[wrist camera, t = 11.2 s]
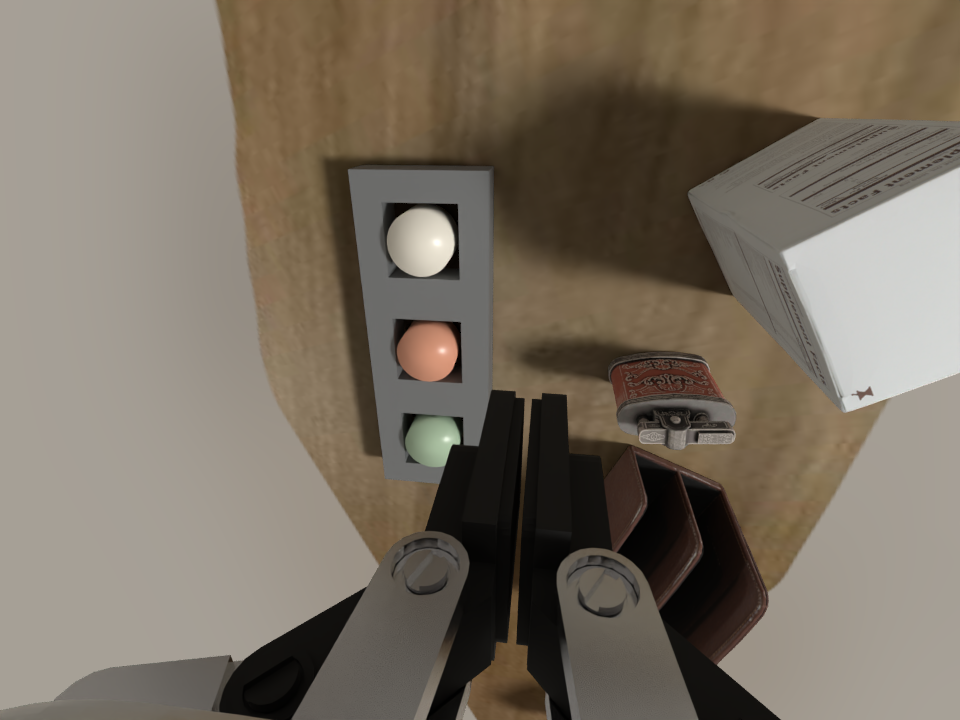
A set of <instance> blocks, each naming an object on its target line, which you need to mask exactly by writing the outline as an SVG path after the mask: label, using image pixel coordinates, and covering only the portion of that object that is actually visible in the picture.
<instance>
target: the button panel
mask: <svg viewBox="0 0 960 720" xmlns="http://www.w3.org/2000/svg"><path fill="white" fill-rule="evenodd" d="M348 175H349V183H350V192H351V200H352V208H353V216H354V225H355V233H356V241H357V250H358V258H359V266H360V275H361V283H362V291H363V299H364V308H365V316H366V324H367V333H368V341H369V349H370V358H371V366H372V374H373V382H374V391H375V399H376V407H377V416H378V424H379V432H380V440H381V449H382V457H383V465H384V474H385V479H393V480H404V481H415V482H426V483H437V484H440V481H441V477H442V474H443V471H444V468H445V466H442V467H429V466H425V465H423V464H420V463H419V462H417V461H416V460H414V459H413V458H412V457H411V456H410V454H409V453H408V451H407V449H406V445H405V439H406V436H407V433H408V431H409V429H410V427H411V425H412V417H411V413H413V414H426V415H440V416H454V417H463V430H464V445H470V446H479V442H480V438H481V433H482V429H483V424H484V420H485V416H486V411H487V407H488V402H489V398H490V393H491V390H492V356H493V230H494V166H433V165H360V166H357V167H354V168H351V169H348ZM394 203H440V204H458V226H459V267H460V269H457V268H443V269H442V270H441V271H439V272H438V273H436V274H434V275H431V276H427V277H417V276H413V275H410V274H408V273H406V272H404V271H403V270H401V269H400V268H399V267H398V266H397V265H396V264H395V263H394V261H393V260H392V258H391V256H390V254H389V251H388V247H387V234H388V231H389V228H390V226H391V224H392V223H393V222H394V220H395V210H394ZM403 319H411V320H432V321H452V322H461V349H462V366H454V367H453V369H452V371H451V372H450V373H449V374H448V375H447V376H446V377H444V378H443V379H440V380H438V381H432V382H427V381H421V380H418V379H416V378H414V377H412V376H410V375H409V374H408V373H407V372H406V371H405V370H404V369H403V368H402V366H401V365H400V363H399V360H398V356H397V347H398V344H399V342H400V340H401V338H402V337H403V335H404V334H405V332H404V320H403Z"/></svg>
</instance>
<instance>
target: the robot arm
mask: <svg viewBox="0 0 960 720" xmlns="http://www.w3.org/2000/svg"><path fill="white" fill-rule="evenodd" d="M524 400H525V399H524V398H516V392H515V391H501V390H491V393H490V398H489V402H488V407H487V411H486V416H485V420H484V424H483V429H482V433H481V438H480V442H479V446H470V445H457V444H453V445H452V446H451V449H450V451H449V455H448V458H447V461H446V464H445V468H444V471H443V474H442V477H441V481H440V484H439V487H438V490H437V494H436V497H435V500H434V504H433V507H432V510H431V513H430V517H429V520H428V523H427V526H426V530H425V531H424V532H417V533H414V534H411V535H409V536H406V537H404V538H402V539H401V540H399V541H398V542H397V543H395V544H394V545H393V546H392V547H391V548H390V550H389V551H388V552H387V553H386V555H385V557H384V558H383V560H382V562H381V564H380V565H379V567H378V569H377V571H376V572H375V574H374V576H373V578H372V579H371V581H370V583H369V585H368V586H367V587H365V588H364V589H362V590H360V591H359V592H357V593H355V594H353V595H351V596H350V597H348V598H346V599H344V600H343V601H341V602H339V603H338V604H336V605H334V606H332V607H331V608H329V609H327V610H325V611H324V612H322V613H320V614H318V615H317V616H315V617H313V618H311V619H310V620H308V621H306V622H304V623H303V624H301V625H299V626H298V627H296V628H294V629H292V630H291V631H289V632H287V633H286V634H284V635H282V636H280V637H278V638H277V639H275V640H273V641H271V642H270V643H268V644H266V645H264V646H263V647H261V648H260V649H258V650H257V651H255V652H254V653H253V654H251V655H250V656H249V657H247V658H246V659H245V660H244V661H234V662H233V661H232V658H231V655H227V656H218V657H207V658H199V659H188V660H179V661H169V662H161V663H150V664H141V665H132V666H122V667H113V668H108V669H104V670H100V671H97V672H93V673H91V674H89V675H88V676H86V677H84V678H82V679H80V680H78V681H76V682H75V683H73V684H72V685H71V686H70V687H69V688H67V689H66V690H65V691H64V692H62V693H61V694H60V695H59V696H58V697H56V699H55V700H54V701H51V702H42V703H34V704H29V705H24V706H19V707H14V708H9V709H5V710H0V720H462V718H463V715H464V712H465V708H466V705H467V701H468V698H469V695H470V690H471V683H472V679H473V678H474V677H476V676H477V675H478V674H479V673H481V672H482V671H483V670H485V669H486V668H487V667H488V666H490V665H491V660H493V661H494V658H495V649H496V642H503V643H507V640H508V629H509V618H510V607H511V596H512V585H513V574H514V562H515V551H516V540H517V529H518V518H519V507H520V493H521V470H522V448H523V425H524ZM516 644H518V645H526V646H528V655H527V670H528V671H529V672H530V674H531V675H532V676H533V677H534V678H535V680H536V681H537V682H538V683H539V684H540V686H541V687H542V688H543V689H544V690H545V706H546V714H547V720H780V719H779V718H778V717H777V716H776V715H774V714H773V713H772V712H771V711H770V710H769V709H768V708H766V707H765V706H764V705H763V704H762V703H760V702H759V701H758V700H757V699H756V698H754V697H753V696H752V695H751V694H750V693H749V692H747V691H746V690H745V689H744V688H743V687H742V686H741V685H739V684H738V683H737V682H736V681H735V680H733V679H732V678H731V677H730V676H729V675H728V674H726V673H725V672H724V671H723V670H722V669H721V668H719V667H718V666H717V665H716V664H715V663H713V662H712V661H711V660H710V659H709V658H708V657H706V656H705V655H704V654H703V653H702V652H701V651H699V650H698V649H697V648H696V647H695V646H693V645H692V644H691V643H690V642H689V641H688V640H686V639H685V638H684V637H683V636H682V635H681V634H679V633H678V632H677V631H676V630H675V629H673V628H672V627H671V626H670V625H669V624H668V623H666V622H665V621H664V620H663V619H662V618H661V616H660V614H659V611H658V608H657V606H656V603H655V600H654V597H653V595H652V592H651V589H650V586H649V584H648V582H647V580H646V578H645V577H644V575H643V573H642V571H641V570H640V569H639V568H638V567H637V566H636V565H635V564H634V563H633V562H632V561H630V560H629V559H627V558H625V557H624V556H622V555H621V554H619V553H616V552H613V549H612V542H611V534H610V526H609V518H608V510H607V503H606V495H605V487H604V479H603V471H602V464H601V458H600V456H594V455H581V454H569V445H568V419H567V395H562V394H547V393H542V400H541V399H532V408H531V420H530V433H529V445H528V458H527V470H526V483H525V495H524V508H523V521H522V537H521V557H520V579H519V600H518V621H517V642H516Z"/></svg>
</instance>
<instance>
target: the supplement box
mask: <svg viewBox="0 0 960 720" xmlns="http://www.w3.org/2000/svg"><path fill="white" fill-rule="evenodd" d="M688 197H689V200H690V202H691V205H692V207H693V209H694V211H695V214H696V216H697V218H698V220H699V223H700V225H701V227H702V229H703V231H704V233H705V235H706V238H707V240H708V242H709V244H710V246H711V248H712V250H713V253H714V255H715V257H716V259H717V261H718V264H719V266H720V268H721V270H722V272H723V275H724V277H725V279H726V281H727V284H728V286H729V288H730V290H731V292H732V294H733V296H734V297H735V298H736V299H737V300H738V301H739V302H740V303H741V305H742V306H743V307H744V308H745V309H746V310H747V311H748V312H749V313H750V314H751V315H752V316H753V317H754V318H755V319H756V321H757V322H758V323H759V324H760V325H761V326H762V327H763V328H764V329H765V330H766V331H767V332H768V333H769V334H770V335H771V336H772V337H773V338H774V339H775V340H776V342H777V343H778V344H779V345H780V346H781V347H782V348H783V349H784V350H785V351H786V352H787V353H788V354H789V355H790V356H791V358H792V359H793V360H794V361H795V362H796V363H797V364H798V365H799V366H800V367H801V369H802V370H803V371H804V372H805V373H806V374H807V375H808V376H809V377H810V378H811V379H812V380H813V381H814V383H815V384H816V385H817V386H818V387H819V388H820V389H821V390H822V391H823V392H824V393H825V394H826V395H827V396H828V397H829V399H830V400H831V401H832V402H833V403H834V404H835V405H836V406H837V407H838V408H839V409H840V410H841V411H842V412H849V411H852V410H855V409H858V408H861V407H864V406H867V405H870V404H873V403H876V402H879V401H881V400H884V399H887V398H890V397H893V396H896V395H898V394H901V393H904V392H907V391H910V390H913V389H915V388H918V387H921V386H924V385H927V384H929V383H932V382H935V381H938V380H941V379H943V378H946V377H949V376H952V375H955V374H958V373H960V121H926V120H882V119H838V118H820V119H817V120H815V121H813V122H812V123H810V124H808V125H806V126H804V127H802V128H800V129H799V130H797V131H795V132H793V133H791V134H790V135H788V136H786V137H784V138H782V139H781V140H779V141H777V142H775V143H773V144H772V145H770V146H768V147H766V148H764V149H763V150H761V151H759V152H757V153H755V154H754V155H752V156H750V157H748V158H746V159H745V160H743V161H741V162H739V163H737V164H736V165H734V166H732V167H730V168H728V169H727V170H725V171H723V172H721V173H719V174H718V175H716V176H714V177H712V178H711V179H709V180H707V181H705V182H703V183H702V184H700V185H698V186H696V187H694V188H693V189H691V190H689V192H688Z"/></svg>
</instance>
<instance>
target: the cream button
mask: <svg viewBox="0 0 960 720" xmlns="http://www.w3.org/2000/svg"><path fill="white" fill-rule="evenodd" d="M458 242H459V232H458V227H457V225H456V222H455V220H454V219H453V217H452V216H451V215H450V214H449V213H448V212H447V211H446V210H445V209H443V208H442V207H440V206H437V205H434V204H429V203H423V204H418V205H415V206H413V207H412V208H410V209H409V210H407V211H406V212H404V213H403V214H402V215H400V216H399V217H397V218H396V219H395V220H394V222H393V223H392V224H391V226H390V228H389V231H388V234H387V247H388V251H389V254H390V256H391V258H392V260H393V261H394V263H395V264H396V265H397V266H398V267H399V268H400V269H401V270H403V271H404V272H406V273H408V274H410V275H413V276H417V277H427V276H431V275H434V274H436V273H438V272H439V271H441V270H442V269H443V268H444V267H445V266H446V264H447V263H448V261H449V260H450V258H451V257H452V256H453V254H454V253H455V251H456V249H457V246H458Z"/></svg>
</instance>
